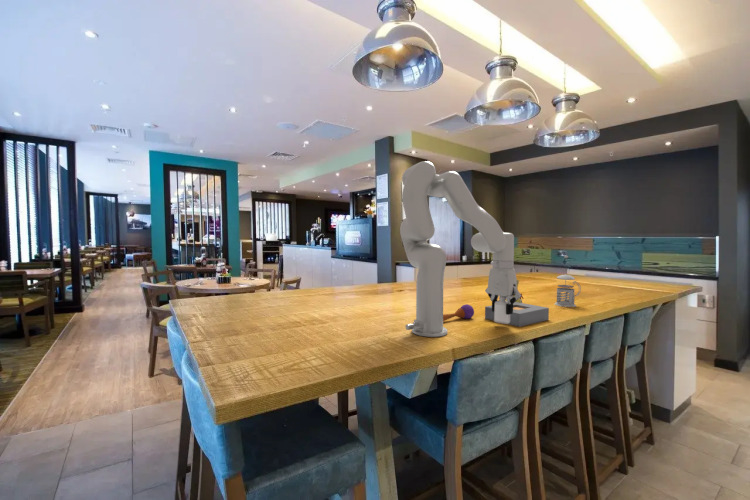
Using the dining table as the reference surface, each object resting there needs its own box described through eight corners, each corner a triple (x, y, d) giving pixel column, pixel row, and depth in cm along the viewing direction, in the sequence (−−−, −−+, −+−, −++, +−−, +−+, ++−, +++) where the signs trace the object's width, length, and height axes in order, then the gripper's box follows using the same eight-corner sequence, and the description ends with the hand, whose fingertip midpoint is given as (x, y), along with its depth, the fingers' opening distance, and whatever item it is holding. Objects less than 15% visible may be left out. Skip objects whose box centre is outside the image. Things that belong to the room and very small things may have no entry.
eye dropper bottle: (503, 324, 127) (503, 292, 127) (492, 321, 132) (493, 290, 132) (511, 323, 129) (512, 292, 129) (500, 320, 134) (501, 289, 134)
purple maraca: (429, 312, 138) (465, 303, 148) (432, 326, 138) (467, 317, 148) (439, 312, 133) (475, 303, 143) (442, 327, 133) (478, 317, 143)
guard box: (519, 326, 130) (519, 313, 130) (484, 318, 144) (485, 306, 143) (548, 319, 141) (548, 307, 141) (514, 312, 155) (514, 301, 154)
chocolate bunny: (501, 308, 163) (501, 277, 162) (515, 306, 169) (516, 276, 168) (514, 311, 157) (514, 279, 157) (528, 308, 163) (528, 277, 163)
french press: (559, 302, 180) (560, 254, 179) (583, 305, 171) (584, 255, 170) (550, 304, 174) (551, 255, 173) (575, 308, 165) (577, 256, 164)
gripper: (478, 264, 135) (477, 309, 136) (517, 267, 121) (516, 318, 121) (490, 263, 139) (489, 307, 140) (529, 266, 125) (528, 315, 125)
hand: (502, 312), depth 131 cm, fingers closed on eye dropper bottle, 5 cm apart
